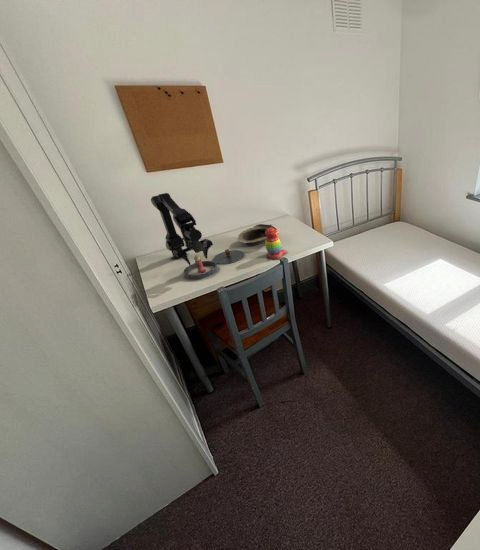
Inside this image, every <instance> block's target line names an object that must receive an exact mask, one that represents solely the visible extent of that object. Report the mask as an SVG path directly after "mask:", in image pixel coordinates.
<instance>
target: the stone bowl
mask: <svg viewBox="0 0 480 550" xmlns="http://www.w3.org/2000/svg"><path fill="white" fill-rule="evenodd" d="M270 227H272V228H274V229H276V230H277V228H276V227H275V226H274V225H272V224H264V223H259V224H255V225H254V226H253V227H249V228H246V229H245V230H242V231H241V232H240V233H239V234H238V235H237V241H238V242H240V243H243V244H246V245H247V246H249V247H254V246H259V245H263V244H264V243H265V241H266V238H267V236H266V234H265V231H266V230H267V229H268V228H270ZM277 231H278V230H277Z"/></svg>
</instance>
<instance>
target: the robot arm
mask: <svg viewBox="0 0 480 550" xmlns="http://www.w3.org/2000/svg"><path fill="white" fill-rule="evenodd" d="M150 202H151V204H152V205H153V207H154V208H156V209H157V210H158V211H159V214H160V217H161V219H162V223H163V225H164V228H165V231H166V235H165V248H166V250H168V251H169V252H171V254H172V257H171V260H179V259H183V260H184V261H185V263H187V264H188V266H189V265H192V264H191V261H190V259H189V258H188V257H189V256H188V253H187V252H191V251H193V252H194V253H196V254H199V253H200V252H202V254H203V256H204V258H205V259H208V254H209V253H208V252H209V250H210V248H211V247H212V246H213V245H214V243H213V241H212V240H210V239H208V238H204V239H202V237H203V235H202V232H201V231H200V230H199V229H197V228H196V227H195V226H197V221H196V219H195V218H194V216H193V215H192V214H191V213H190V212H189V211H188V210H186V209H185V208H182V207H180V206H179V205H178V204H177V203H176V201H175V200H174V199H173V198H172V196H171V194H170V193H168V192H164V193H159V194H157V195H153V196H151V198H150ZM174 223H175V224H174ZM175 225H176V226H177V227H178V229H179V230H180V233H181V235H180V234H178V232H177V231H176V227H175ZM183 247H186V248H183Z"/></svg>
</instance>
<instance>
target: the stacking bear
mask: <svg viewBox="0 0 480 550" xmlns="http://www.w3.org/2000/svg"><path fill="white" fill-rule="evenodd" d="M276 229H277V228H276ZM276 229H274V228H272V227H270V228H268V229H267V230H266V231H265V234H266V236H267V238H266V241H265V244H264V245H265V249H266V251H267V257H268V258H270V259H273V260H280V259H282V256H284V255H285V254H286V253H287V251H286V249H282V242H281V240H280V238H279V231H278V230H276Z"/></svg>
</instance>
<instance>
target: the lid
mask: <svg viewBox="0 0 480 550" xmlns="http://www.w3.org/2000/svg"><path fill="white" fill-rule="evenodd" d="M244 257H245V253H244V252H243V251H242V250H236V249H232V250H230V249H229V248H227V249H224V251H223V252H220V253H218V254H216V255H215V256H214V257H213V259H212V261H213V262H216V264H217V265H229V264H235V263H236V262H240V261H241V260H242V259H243V258H244Z"/></svg>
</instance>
